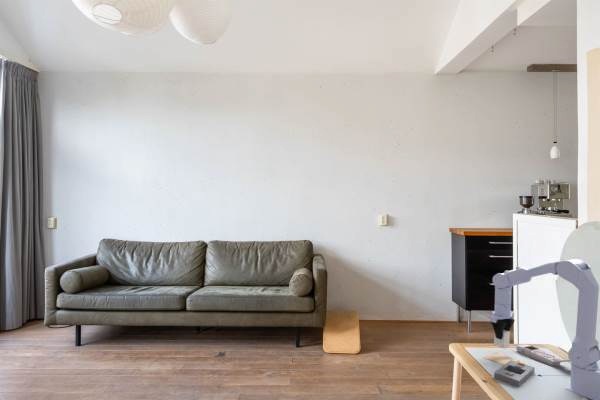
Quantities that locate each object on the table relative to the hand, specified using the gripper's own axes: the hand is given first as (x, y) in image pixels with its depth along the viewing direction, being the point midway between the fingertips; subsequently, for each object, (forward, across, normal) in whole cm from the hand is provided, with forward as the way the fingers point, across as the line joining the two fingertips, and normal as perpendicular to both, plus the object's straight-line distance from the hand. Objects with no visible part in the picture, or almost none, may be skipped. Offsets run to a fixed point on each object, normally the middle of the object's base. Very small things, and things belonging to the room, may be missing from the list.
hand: (501, 337), depth 151 cm
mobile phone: (+10, -15, +9) cm, 20 cm away
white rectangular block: (+3, 0, 0) cm, 3 cm away
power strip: (+10, +10, +10) cm, 17 cm away
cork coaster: (+9, 0, 0) cm, 9 cm away
